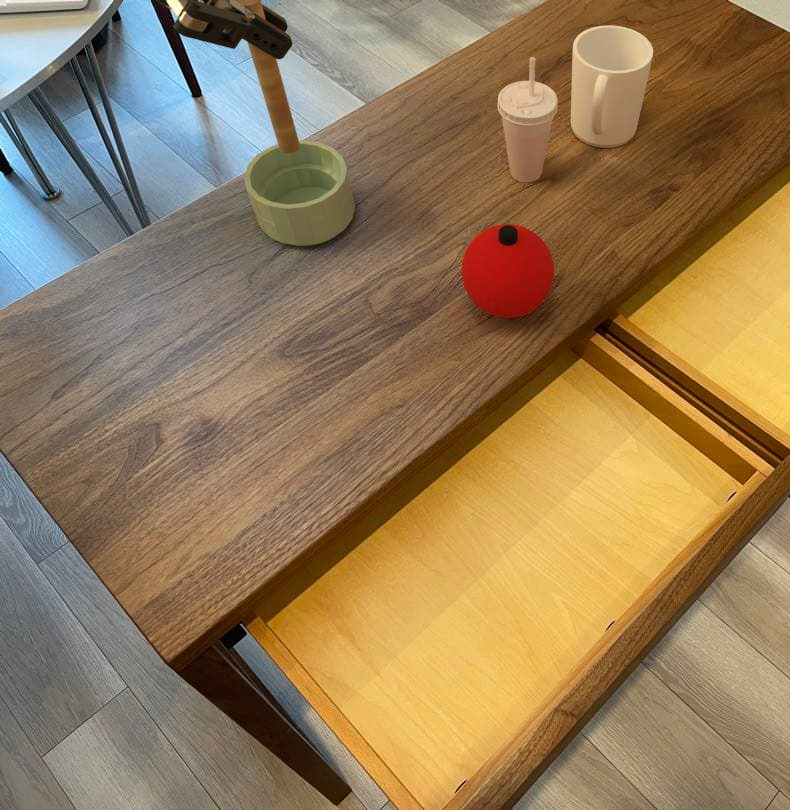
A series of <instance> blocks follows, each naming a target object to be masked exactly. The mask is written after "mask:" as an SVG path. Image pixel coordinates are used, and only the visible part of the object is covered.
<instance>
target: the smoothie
mask: <svg viewBox="0 0 790 810" xmlns="http://www.w3.org/2000/svg"><path fill="white" fill-rule="evenodd" d="M528 73H529V75H528V76H529V77H528V80H519V81H515V82H511V83H509V84H507V85H506V86H505V87H503V88H502V89H501V90H500V92H499V93H498V95H497V107H496V108H497V111H498V112H499V114H500V116H501V121H502V127H503V128H502V129H503V134H504V141H505V147H506V155H507V162H508V167H509V174H510V176H511V177H512V178H513V179H514V180H515V181H517V182H520V183H533V182H535V181H537V180H539V179H540V178H541V176H542V174H543V169H544V164H545V160H546V154H547V149H548V144H549V138H550V136H551V135H550V134H551V129H552V125H553V119H554V117H555V116H556V114H557V113H558V107H559V106H558V102H559V101H558V96H557V93H556V92H555V90H554V89H552V88H551V87H550V86H548V85H546V84H544V83H542V82H538V81H536V80H535V79H536V58H535V57H534V56H531V57H530V58H529V71H528Z"/></svg>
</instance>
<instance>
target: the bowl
mask: <svg viewBox="0 0 790 810" xmlns="http://www.w3.org/2000/svg"><path fill="white" fill-rule="evenodd" d="M299 144H300V148H299V149H298V150H297V151H296V152H294V153H290V154H287V153H283V152H281V151H280V149H279V146H278V143H277V144H275V145H271V146H269V147H267V148H266V149H264V150H262V151H261V152H259V153H258V154H256V155H255V156H254V157H253V158H252V160H250V162H249V163H248V164H247V166H246V170H245V172H244V175H243V182H244V185H245V189H246V192H247V196H248V198H249V201H250V204H251V206H252V209H253V212H254V215H255V217H256V220H257V222H258V225H259V228H261V230H262V231H263V232H264V233H265V235H266V236H267V237H269V238H271V239H273V240H275V241H277V242H278V243H281V244H286V245H291V246H295V247H296V246H297V247H310V246H311V247H312V246H316V245H320V244H323V243H326V242H329V241H330V240H332V239H334V238H335V237H337V236H338V235H339V234H340V233H342V232H344V231H345V230H346V228H347V227H348V226H349V224H350V223H351V222H352V220H353V218H354V215H355V209H356V204H355V200H354V196H353V189H352V185H351V181H350V176H349V171H348V167H347V164H346V161H345V158H344V157H343V156H342V155H341V154H340V152H339V151H337V150H336V149H335V148H333V147H331V146H329V145H328V144H325V143H323V142H320V141H313V140H307V139H301V140H299Z"/></svg>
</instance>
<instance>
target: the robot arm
mask: <svg viewBox="0 0 790 810" xmlns="http://www.w3.org/2000/svg"><path fill="white" fill-rule="evenodd" d="M155 2H157V3H159V4H160V5H162V6H164V7H165V8H167V9H169V10H172V11H173V13H174V14H175V15H176V17H177V18H176V20H175V21H174V23H173V26H172V27H173V29H174V30H175V31H176V32H177V33H178V34H179V35H181V36H183V37H185V38H188V39H189V38H190V39H193V40H197V41H200V42H204V43H208V44H212V45H217V46H221V47H224V48H228V49H232V50H235V49H236V48H237V47H238V45H239V44H240V42H241V41H242V40H244V41H245V42H249V43H250V44H252V45H254V46H255V47H257V48H259V49H261V50H262V51H264V52H266V53H267V54H269V55H271V56H272V57H274V58H276V59H277V60H282V59H284V58H285V56H286V55H287V54H288V53H289V51H290V50H291V48H292V46H293V40H292V37H291V35H290V34H289V33H287V31H288V24H287V20H286V18H285V17H283V16H282V15H280V14H278V13H277V12H275V11H273V10H272V9H270V8H269V7H267V6H266V5H264V4H263V3H261V4H262V8H263V11H264V15H265V19H266V20H265V19H263V18H261V17H260V16H258V15H257V14H255V13H254V14H253V13H252V11H251V10H249V9H248V8H246V7H245V6H243V5H242V4H240V3H239V2H237V1H236V0H155Z"/></svg>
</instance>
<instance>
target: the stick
mask: <svg viewBox="0 0 790 810" xmlns="http://www.w3.org/2000/svg"><path fill="white" fill-rule="evenodd" d="M236 1H237V2H239V3H240V4H242V5H243V6H245V7H246V8H248V9H249V10H251V11H252V13H253V14H254V13H255V14H257V15H258V16H260V17H261V18H263V19H265V15H264V11H263V8H262V4H263V3H262V1H261V0H236ZM265 20H266V19H265ZM246 42H247V41H246ZM247 46H248V49H249V52H250V56H251V59H252V62H253V66H254V69H255V72H256V75H257V76H256V77H257V79H258V83H259V86H260V89H261V92H262V95H263V99H264V102H265V105H266V109H267V112H268V113H267V114H268V116H269V119H270V122H271V126H272V129H273V132H274V136H275V139H276V142H277V144H278V146H279V149H280V151H281V152H283V153H287V154H290V153H294V152H296V151H297V150H298V149H299V148H300V144H299V141H300V140H299V137H298V133H297V130H296V126H295V121H294V118H293V114H292V110H291V108H290V107H291V106H290V103H289V100H288V96H287V93H286V89H285V85H284V82H283V77H282V74H281V70H280V66H279V63H278V59H276V58H274V57H272V56H271V55H269V54H267V53H266V52H264V51H262V50H261V49H259V48H257V47H255V46H254V45H252V44H250V43H249V42H247Z"/></svg>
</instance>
